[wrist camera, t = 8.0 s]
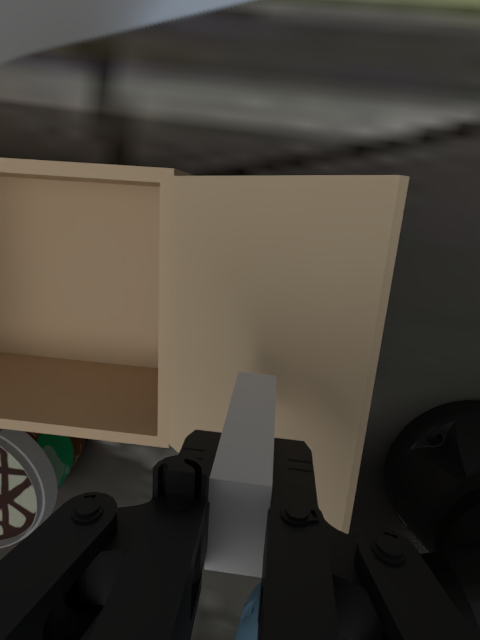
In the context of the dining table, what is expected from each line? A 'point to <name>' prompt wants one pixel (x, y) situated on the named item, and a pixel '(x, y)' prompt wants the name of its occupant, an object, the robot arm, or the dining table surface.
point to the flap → (284, 308)
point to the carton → (86, 299)
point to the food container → (32, 478)
